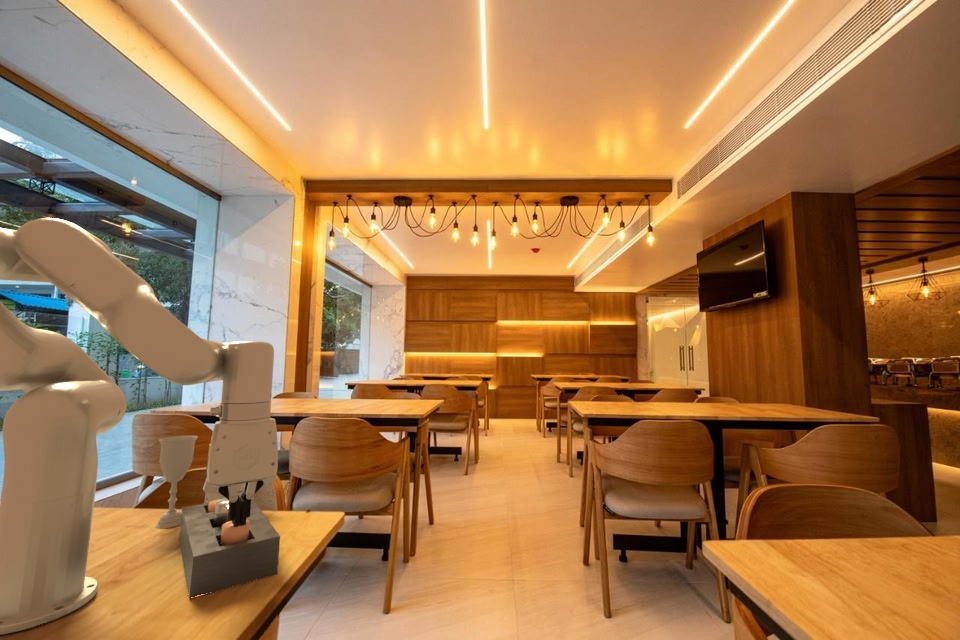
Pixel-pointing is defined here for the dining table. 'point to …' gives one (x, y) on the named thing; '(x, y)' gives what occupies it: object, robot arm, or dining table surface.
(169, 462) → the chalice
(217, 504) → the middle knob
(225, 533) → the near knob
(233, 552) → the knob housing
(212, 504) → the far knob
